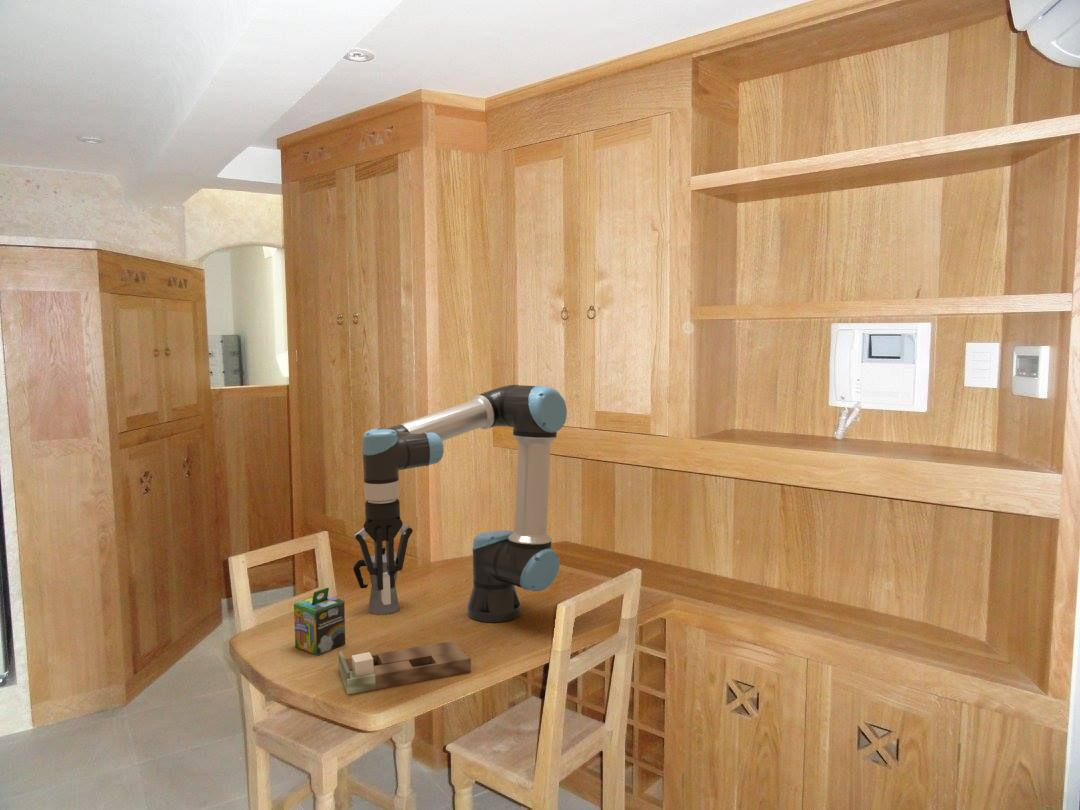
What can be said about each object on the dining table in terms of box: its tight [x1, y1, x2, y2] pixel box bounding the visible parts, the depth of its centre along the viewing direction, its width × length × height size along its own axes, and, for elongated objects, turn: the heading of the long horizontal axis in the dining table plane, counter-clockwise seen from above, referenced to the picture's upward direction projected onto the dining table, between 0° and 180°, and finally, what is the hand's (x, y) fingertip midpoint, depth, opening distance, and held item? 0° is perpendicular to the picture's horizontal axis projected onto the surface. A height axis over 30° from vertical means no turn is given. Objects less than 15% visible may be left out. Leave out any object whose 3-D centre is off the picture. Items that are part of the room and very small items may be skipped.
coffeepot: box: [352, 547, 400, 616], centre depth 212 cm, size 15×9×18 cm, turn 126°
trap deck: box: [337, 640, 472, 695], centre depth 173 cm, size 28×13×4 cm, turn 114°
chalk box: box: [293, 587, 346, 657], centre depth 187 cm, size 9×9×15 cm
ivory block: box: [351, 651, 374, 677], centre depth 166 cm, size 4×4×4 cm
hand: (386, 602), depth 168 cm, fingers closed
